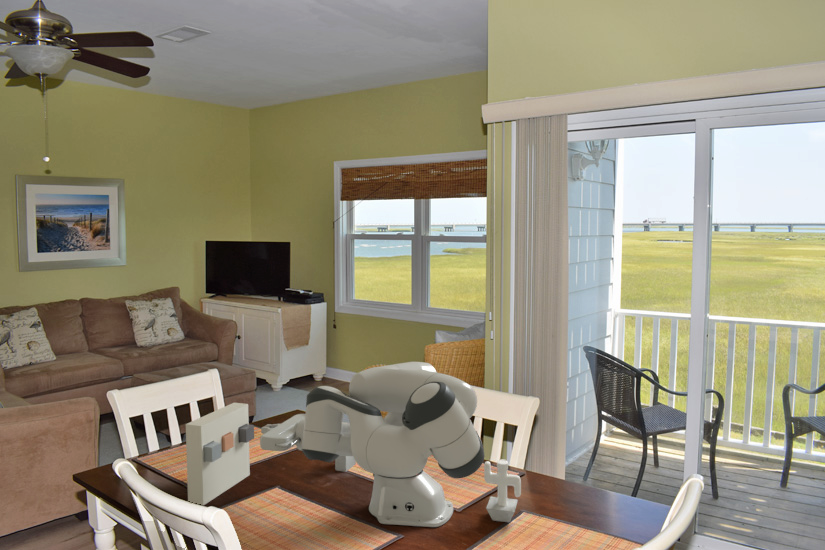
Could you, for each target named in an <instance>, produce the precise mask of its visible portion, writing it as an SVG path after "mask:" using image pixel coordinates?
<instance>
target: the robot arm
mask: <svg viewBox="0 0 825 550" xmlns="http://www.w3.org/2000/svg"><path fill="white" fill-rule="evenodd" d="M477 396H478V395H477V392H476V391H475V390H474V387H472V385H471V384H470V383H467V382H466V381H464V380H462V379H460V378H457V377H456V376H453V375H450V374H445V373H441V372H438V371H437V370H436V368H435V367H434V366H433V365H432V364H431V363H429V362H424V361H423V362H422V361H407V362H406V361H405V362H400V363H394V364H388V365H382V366H374V367H369V368H367V369H363V370H361V371H359V372H356V373H355V374H354V375H353V376H352V377H351V380H350V382H349V386H348V394H347V393H345V392H343V391H342V390H340V389H338V388H336V387H333V386H329V385H321V386H315V387H314V388H313V389H312V390H311V391H310V392H308V393H307V395H306V399H305V400H306V401H305V404H306V405H305V408H306V409H305V413H298V414H295V415H293V416H291V417H290V418H288V419H287V420H284V421H283V422H281V423H273V424H271V423H267V424H266V425H264V426H262V427H261V428H260V431H261V436H260V437H259V438H260V439H259V446H260V447H259V448H260V449H261V450H262V451H272V452H285V451H287V450H290V449H291V448H293V447H294V446H296V448H297V450H298V451H302V453H303V455H304V456H305V457H306V458H307V460H309V461H310V460H311V461H315V460H316V461H321V462H324V463H325V462H326V463H332V462H334V461H335V459H336V458H338V457H339V456H353V457H354V459H355V461H356V464H357V465H358V466H359V467H360V468H362V470H364V471H366V472H368V473H371V474H372V476H373V486H372V493H371V499H370V503H369V505H368V511H369V513H370V514H371V515H372V516H374V517H375V518H376V519H377V521H378V522H379V523H380V524H382V525H395V526H396V525H398V526H412V527H424V528H425V527H427V528H438V527H441V526H442V525H444V524H446V523H447V522H448V521H449V520H450V519H451V517H452V516H453V513H454V505H453V502H452V501H450V500H446V497H445V492H444V489H443V486H442V485H441V483H439V482H438V481H436V479H434V478H433V477H431V476H430V475H429V474H428V473H427V472H425V471H424V468H425V467H426V465H427V464H428V460H429V457H431V456H432V457H433V458H434V460H435V461H436V463H438V466H439V468H440V469H441V470H442V471H443V472H444V473H445V474H446V475H447V476H448V477H450V478H452V479H462V478H463V479H464V478H467V477H469V476H471V475H473V474H475V473H476V472H477V471H478V470H479V469H480V468H481V466H482V465H483V463H484V460H485V449H484V445H483V442H482V439H481V438H480V436H479V433H478V431H477V430H476V428H475V426H474V424H473V422H472V420H471V418H472V417H473V416H474V414H475V412H476V409H477V407H478V397H477ZM382 412H387V414H386V415H385V416H382ZM345 415H346V416H347V418H348V420H349V422H346V421H345V422H344V421H343V420H344V416H345Z"/></svg>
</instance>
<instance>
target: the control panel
mask: <svg viewBox="0 0 825 550" xmlns="http://www.w3.org/2000/svg"><path fill="white" fill-rule="evenodd" d="M249 421H250V418H249V404H248V403H242V402H232V403H229V404H228V405H226V406H224V407H223V406H222V407H221V408H219V409H217V410H214V411H213V412H209V413H208V414H206V415H203V416H201V417H199V418H197V419H194V420H192V421H190V422H188V423H185V442H186V443H185V446H186V447H185V448H186V449H185V450H186V476H187V502H188V501H190V502H193V503H197V504H201V505H200V506H205V505H207V504H208V503H209V502H211V501H212V500H214V499H216V498H217V497H218V496H220V495H221V494H223V493H225V492H226V491H227V490H229V489H231V488H232V487H234V486H236V485H237V484H238V483H240V482H241V481H243V480H244V479H246V478H247V477H249V476H250V475H251V470H250V467H251V466H250V464H251V463H250V441H249V442H247V443H245V442H239V436H238V428H239V427H241V426H243V425H245V424H247V425H250V423H249ZM227 433H233V438H234V447H232V448H230V449H229V450H227V451H222V436H224V435H225V434H227ZM210 442H218V443H221V458H219V459H217V460H215V461H213V462H207V461H204V451H203V446H204V445H206V444H208V443H210ZM197 504H196V505H197Z"/></svg>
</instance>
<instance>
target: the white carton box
mask: <svg viewBox="0 0 825 550" xmlns="http://www.w3.org/2000/svg"><path fill="white" fill-rule="evenodd" d="M334 462H335V463H334V465H335V466H334V469H335V471H336V472H342V473H343V472H344V473H346V472H348V471H349V470H351V469H352V468H353V467H354V466H355V465H356V464H357V463H356V461H355V459H354V457H353V456H339V457H338V458H336V459H335V460H334Z"/></svg>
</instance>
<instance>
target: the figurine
mask: <svg viewBox="0 0 825 550" xmlns="http://www.w3.org/2000/svg"><path fill="white" fill-rule="evenodd" d="M483 465H484V469H483V470H484V471H483V472H484V473H483V475H484V476H483V477H484V478H483V479H484V482H485V483H487V484H491V485H492V484H493V485H497V496H489V498H488V499H489V500H488V503H487V504H486V507H485V509H486V510H487V513H488V514H489V516H490V518H491V520H492V521H496V522H505V523H510V522H511V520H512V518H513V516H514V514H515V512H516V508H517V504H518V501H519V499H516V498H519V497H521V494H522V479H521V477H520V476H519V475H517V474H510V473H509V474H508V469H509V462H508V461H507V459H505V458H504V459H503V458H500V459H499V460H497V462H496V468H497V472H492V467H491V466H492V465H491V462H490V461H487V460H486V461H485V462H484V464H483ZM509 486H510V487H511V486H512V487H513V489H514V490H513V491H514V493H513V494H514V496H515V498H508V487H509Z"/></svg>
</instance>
